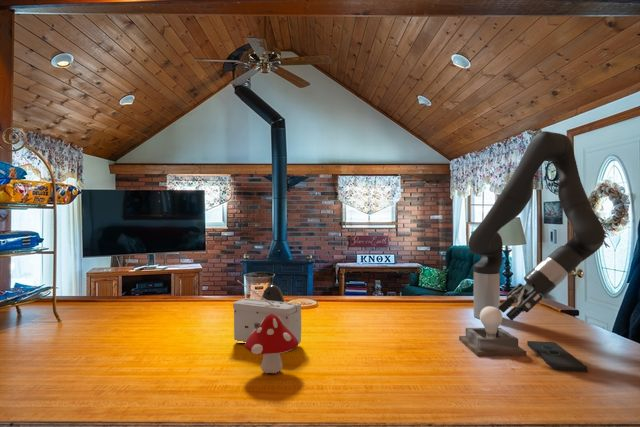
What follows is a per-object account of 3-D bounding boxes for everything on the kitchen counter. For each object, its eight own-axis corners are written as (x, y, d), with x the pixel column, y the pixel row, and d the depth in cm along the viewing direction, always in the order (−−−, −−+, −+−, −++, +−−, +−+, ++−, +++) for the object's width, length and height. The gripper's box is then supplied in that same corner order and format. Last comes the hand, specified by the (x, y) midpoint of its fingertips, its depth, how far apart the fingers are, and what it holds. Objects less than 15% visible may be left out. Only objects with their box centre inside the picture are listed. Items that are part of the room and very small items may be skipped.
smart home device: (554, 341, 119) (589, 367, 100) (554, 347, 119) (589, 374, 100) (525, 340, 121) (554, 365, 101) (525, 345, 121) (554, 372, 101)
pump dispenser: (252, 330, 136) (251, 287, 136) (267, 322, 145) (266, 281, 145) (278, 334, 132) (278, 289, 132) (292, 325, 142) (291, 283, 141)
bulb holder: (459, 339, 125) (459, 326, 125) (502, 339, 125) (502, 326, 125) (477, 356, 111) (477, 341, 111) (526, 355, 111) (526, 340, 111)
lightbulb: (505, 347, 115) (505, 309, 115) (482, 345, 116) (482, 308, 116) (499, 340, 121) (499, 304, 121) (477, 338, 122) (477, 303, 122)
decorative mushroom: (275, 389, 91) (274, 325, 91) (232, 376, 98) (231, 316, 98) (309, 368, 103) (308, 311, 103) (268, 358, 110) (267, 305, 110)
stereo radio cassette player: (302, 345, 121) (302, 280, 121) (289, 354, 113) (288, 285, 113) (246, 336, 130) (245, 276, 130) (230, 344, 122) (230, 280, 122)
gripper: (527, 264, 123) (488, 299, 125) (545, 270, 109) (501, 310, 111) (545, 281, 122) (506, 316, 124) (566, 290, 108) (521, 330, 110)
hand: (504, 313), depth 117 cm, fingers open, 8 cm apart
